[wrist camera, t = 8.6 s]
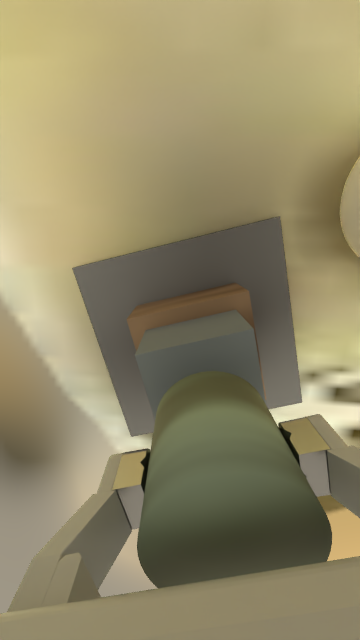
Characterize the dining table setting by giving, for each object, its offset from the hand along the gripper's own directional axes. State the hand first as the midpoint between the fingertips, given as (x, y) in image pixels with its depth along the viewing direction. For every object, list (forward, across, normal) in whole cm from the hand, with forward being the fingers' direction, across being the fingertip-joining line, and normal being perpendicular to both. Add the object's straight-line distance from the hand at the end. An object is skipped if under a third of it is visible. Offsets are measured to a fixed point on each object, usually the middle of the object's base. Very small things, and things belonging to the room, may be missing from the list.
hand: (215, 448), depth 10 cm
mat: (+12, 0, 0) cm, 13 cm away
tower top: (+8, 0, 0) cm, 8 cm away
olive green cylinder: (+2, 0, 0) cm, 2 cm away
